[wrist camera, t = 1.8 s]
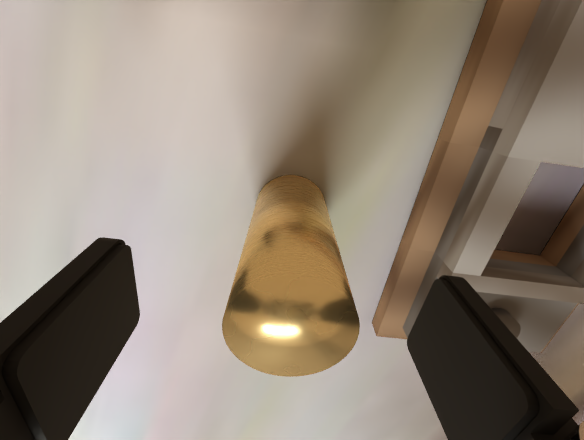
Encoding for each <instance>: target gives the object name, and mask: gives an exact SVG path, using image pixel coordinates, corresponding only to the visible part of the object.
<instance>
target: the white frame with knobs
mask: <svg viewBox="0 0 584 440" xmlns="http://www.w3.org/2000/svg"><path fill="white" fill-rule="evenodd" d="M541 162H546V163H552V164H559V165H566V166H573V167H579V168H584V0H487V3H486V5H485V8H484V11H483V14H482V17H481V19H480V22H479V25H478V28H477V31H476V33H475V36H474V39H473V42H472V45H471V47H470V50H469V53H468V56H467V59H466V61H465V64H464V67H463V70H462V73H461V75H460V78H459V81H458V84H457V87H456V89H455V92H454V95H453V98H452V100H451V103H450V106H449V109H448V112H447V114H446V117H445V120H444V123H443V126H442V128H441V131H440V134H439V137H438V140H437V142H436V145H435V148H434V151H433V154H432V156H431V159H430V162H429V165H428V168H427V170H426V173H425V176H424V179H423V182H422V184H421V187H420V190H419V193H418V195H417V198H416V201H415V204H414V207H413V209H412V212H411V215H410V218H409V221H408V223H407V226H406V229H405V232H404V235H403V237H402V240H401V243H400V246H399V249H398V251H397V254H396V257H395V260H394V263H393V265H392V268H391V271H390V274H389V276H388V279H387V282H386V285H385V288H384V290H383V293H382V296H381V299H380V302H379V304H378V307H377V310H376V313H375V316H374V318H373V321H372V324H373V327H374V330H375V333H376V336H381V337H391V338H401V339H407V338H408V335H409V333H410V331H411V329H412V327H413V325H414V323H415V321H416V318H417V316H418V314H419V312H420V310H421V308H422V306H423V303H424V301H425V299H426V297H427V295H428V293H429V291H430V288H431V286H432V284H433V282H434V281H435V280H436V279H439V277H441V276H442V275H449V276H458V277H463V278H464V279H465V280H466V281H467V282H468V283H469V284H470V285H471V286H472V288H473V289H474V290H475V291H476V292H477V293H478V294H479V296H480V297H481V298H482V299H483V300H484V301H485V302H486V304H487V305H488V306H489V307H490V308H491V309H492V311H493V312H494V313H495V314H496V315H497V316H498V317H499V319H500V320H501V321H502V322H503V323H504V324H505V325H506V327H507V328H508V329H509V330H510V331H511V332H512V334H513V335H514V336H515V337H516V338H517V339H518V340H519V342H520V343H521V344H522V345H523V346H524V347H525V348H526V350H527V351H528V352H534V353H542V351H543V350H544V349H545V347H546V346H547V345H548V343H549V342H550V341H551V339H552V338H553V337H554V335H555V334H556V333H557V332H558V330H559V329H560V328H561V326H562V325H563V324H564V322H565V321H566V320H567V318H568V317H569V316H570V314H571V313H572V312H573V310H574V309H575V308H576V306H577V305H578V304H579V303H580V304H584V185H583V187H582V188H581V190H580V191H579V193H578V195H577V196H576V198H575V200H574V201H573V203H572V204H571V206H570V208H569V209H568V211H567V212H566V214H565V216H564V217H563V219H562V221H561V222H560V224H559V225H558V227H557V229H556V230H555V232H554V233H553V235H552V237H551V238H550V240H549V241H548V243H547V245H546V246H545V248H544V250H543V251H542V253H541V254H540V255H533V254H525V253H517V252H509V251H501V250H495V248H496V246H497V244H498V242H499V240H500V238H501V236H502V235H503V233H504V231H505V229H506V227H507V225H508V223H509V221H510V219H511V218H512V216H513V214H514V212H515V210H516V208H517V206H518V204H519V203H520V201H521V199H522V197H523V195H524V193H525V191H526V189H527V187H528V186H529V184H530V182H531V180H532V178H533V176H534V174H535V172H536V171H537V169H538V167H539V165H540V163H541Z"/></svg>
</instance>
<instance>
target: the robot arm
mask: <svg viewBox="0 0 584 440" xmlns="http://www.w3.org/2000/svg"><path fill="white" fill-rule="evenodd" d="M139 317H140V311H139V303H138V296H137V289H136V282H135V274H134V267H133V260H132V253H131V248H130V246H128V245H125V242H124V241H123V240H120V239H111V238H98V239H97V240H96V241H94V242H93V243H92V244H91V245H90V246H89V247H88V248H86V249H85V250H84V251H83V252H82V253H81V254H79V255H78V256H77V257H76V258H75V259H74V260H73V261H71V262H70V263H69V264H68V265H67V266H66V267H64V268H63V269H62V270H61V271H60V272H59V273H57V274H56V275H55V276H54V277H53V278H52V279H51V280H49V281H48V282H47V283H46V284H45V285H44V286H42V287H41V288H40V289H39V290H38V291H37V292H36V293H34V294H33V295H32V296H31V297H30V298H29V299H27V300H26V301H25V302H24V303H23V304H22V305H21V306H19V307H18V308H17V309H16V310H15V311H14V312H12V313H11V314H10V315H9V316H8V317H7V318H5V319H4V320H3V321H2V322H1V323H0V440H68V439H69V437H70V435H71V434H72V432H73V430H74V429H75V427H76V426H77V424H78V422H79V421H80V419H81V417H82V416H83V414H84V412H85V411H86V409H87V407H88V406H89V404H90V402H91V401H92V399H93V397H94V396H95V394H96V392H97V391H98V389H99V387H100V386H101V384H102V382H103V381H104V379H105V377H106V376H107V374H108V372H109V371H110V369H111V367H112V366H113V364H114V362H115V361H116V359H117V357H118V356H119V354H120V352H121V351H122V349H123V347H124V346H125V344H126V342H127V341H128V339H129V337H130V336H131V334H132V332H133V331H134V329H135V327H136V326H137V324H138V321H139ZM407 346H408V350H409V352H410V354H411V357H412V359H413V361H414V363H415V366H416V368H417V370H418V373H419V375H420V377H421V379H422V382H423V384H424V386H425V388H426V391H427V393H428V395H429V398H430V400H431V402H432V404H433V407H434V409H435V411H436V413H437V416H438V418H439V420H440V423H441V425H442V427H443V429H444V432H445V434H446V436H447V438H448V440H584V421H583V422H582V423H581V424H580V425H577V423H576V422H575V421H574V420H573V419H572V417H573V416H574V415H575V414H576V413H577V412H578V411H579V409H578V408H577V407H576V406H575V405H574V404H573V403H572V401H571V400H570V399H569V398H568V397H567V396H566V395H565V393H564V392H563V391H562V390H561V389H560V388H559V386H558V385H557V384H556V383H555V382H554V381H553V380H552V378H551V377H550V376H549V375H548V374H547V373H546V371H545V370H544V369H543V368H542V367H541V366H540V365H539V363H538V362H537V361H536V360H535V359H534V358H533V357H532V355H531V354H530V353H529V352H528V351H527V350H526V348H525V347H524V346H523V345H522V344H521V343H520V342H519V340H518V339H517V338H516V337H515V336H514V335H513V334H512V332H511V331H510V330H509V329H508V328H507V327H506V325H505V324H504V323H503V322H502V321H501V320H500V319H499V317H498V316H497V315H496V314H495V313H494V312H493V311H492V309H491V308H490V307H489V306H488V305H487V304H486V302H485V301H484V300H483V299H482V298H481V297H480V296H479V294H478V293H477V292H476V291H475V290H474V289H473V288H472V286H471V285H470V284H469V283H468V282H467V281H466V280H465V279H464V278H463V277H458V276H449V275H442V276H441V277H439V279H436V280H435V281H434V282H433V284H432V286H431V288H430V291H429V293H428V295H427V297H426V299H425V301H424V303H423V306H422V308H421V310H420V312H419V314H418V316H417V318H416V321H415V323H414V325H413V327H412V329H411V331H410V333H409V335H408V338H407Z"/></svg>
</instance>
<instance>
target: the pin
mask: <svg viewBox="0 0 584 440" xmlns="http://www.w3.org/2000/svg"><path fill="white" fill-rule="evenodd" d="M359 327H360V324H359V317H358V314H357V311H356V307H355V304H354V300H353V297H352V293H351V290H350V286H349V283H348V279H347V276H346V273H345V269H344V266H343V262H342V259H341V255H340V252H339V248H338V245H337V241H336V238H335V235H334V231H333V228H332V224H331V221H330V217H329V214H328V210H327V207H326V203H325V200H324V197H323V194H322V192H321V191H320V189H319V188H318V187H317V186H316V185H315V184H314V183H313V182H311V181H310V180H308V179H306V178H304V177H301V176H296V175H285V176H281V177H278V178H275V179H273V180H272V181H270V182H269V183H267V184H266V185H265V186H264V187H263V189H262V190H261V191H260V193H259V195H258V198H257V202H256V205H255V209H254V212H253V216H252V219H251V223H250V226H249V230H248V233H247V237H246V240H245V244H244V247H243V251H242V254H241V258H240V261H239V265H238V268H237V272H236V275H235V279H234V282H233V286H232V289H231V293H230V296H229V300H228V303H227V306H226V310H225V313H224V317H223V323H222V330H223V335H224V339H225V341H226V344H227V345H228V347H229V349H230V350H231V351H232V353H233V354H234V355H235V356H236V357H237V358H238V359H239V360H241V361H242V362H243V363H245V364H246V365H248V366H250V367H252V368H254V369H256V370H258V371H261V372H264V373H268V374H272V375H278V376H304V375H309V374H314V373H317V372H320V371H323V370H325V369H328V368H330V367H332V366H333V365H335V364H337V363H338V362H340V361H341V360H342V359H343V358H344V357H345V356H347V354H348V353H349V352H350V351H351V350H352V348H353V347H354V345H355V343H356V341H357V338H358V334H359Z"/></svg>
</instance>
